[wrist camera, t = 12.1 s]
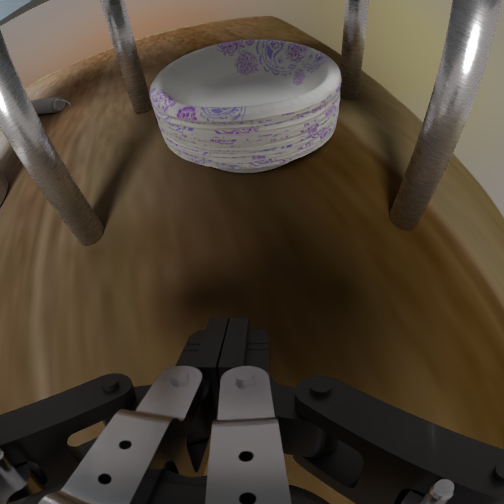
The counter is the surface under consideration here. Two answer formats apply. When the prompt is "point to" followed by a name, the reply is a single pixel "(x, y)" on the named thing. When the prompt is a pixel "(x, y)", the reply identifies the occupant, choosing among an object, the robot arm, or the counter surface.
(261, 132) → the paper bowls
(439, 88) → the small side table
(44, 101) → the kitchen whisk
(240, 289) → the counter surface
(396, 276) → the counter surface
